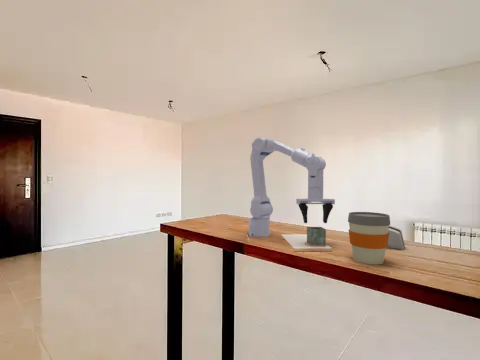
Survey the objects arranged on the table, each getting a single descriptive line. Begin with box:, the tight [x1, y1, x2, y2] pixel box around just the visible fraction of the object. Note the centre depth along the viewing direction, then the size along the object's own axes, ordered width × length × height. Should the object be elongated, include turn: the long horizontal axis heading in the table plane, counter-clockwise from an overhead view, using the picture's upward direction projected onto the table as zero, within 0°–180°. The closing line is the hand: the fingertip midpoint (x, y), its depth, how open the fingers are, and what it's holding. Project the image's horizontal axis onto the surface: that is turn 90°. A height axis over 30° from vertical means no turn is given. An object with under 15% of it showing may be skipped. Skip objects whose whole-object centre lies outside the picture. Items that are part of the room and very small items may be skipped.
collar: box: [306, 226, 327, 246], centre depth 104 cm, size 6×6×6 cm
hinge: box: [387, 224, 405, 250], centre depth 107 cm, size 17×5×10 cm, turn 50°
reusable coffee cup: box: [347, 211, 391, 265], centre depth 88 cm, size 13×13×15 cm
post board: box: [280, 233, 333, 253], centre depth 110 cm, size 14×24×6 cm, turn 2°
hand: (315, 222), depth 104 cm, fingers open, 7 cm apart
